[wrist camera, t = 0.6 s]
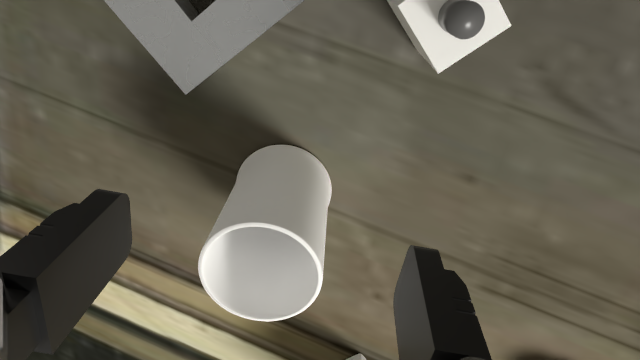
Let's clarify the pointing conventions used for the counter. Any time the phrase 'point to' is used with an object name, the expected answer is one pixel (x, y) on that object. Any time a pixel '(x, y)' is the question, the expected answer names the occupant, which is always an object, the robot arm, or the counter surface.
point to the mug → (269, 236)
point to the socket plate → (197, 32)
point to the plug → (449, 27)
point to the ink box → (357, 357)
